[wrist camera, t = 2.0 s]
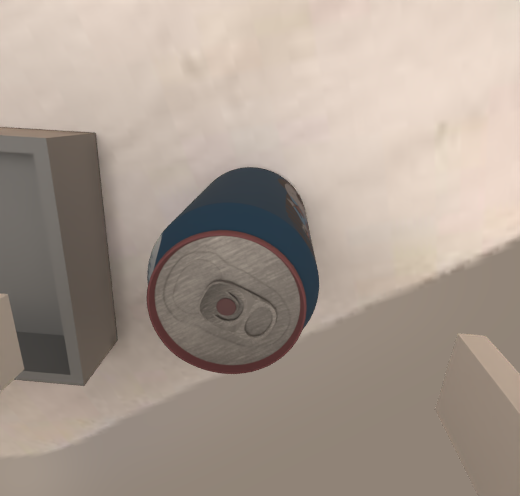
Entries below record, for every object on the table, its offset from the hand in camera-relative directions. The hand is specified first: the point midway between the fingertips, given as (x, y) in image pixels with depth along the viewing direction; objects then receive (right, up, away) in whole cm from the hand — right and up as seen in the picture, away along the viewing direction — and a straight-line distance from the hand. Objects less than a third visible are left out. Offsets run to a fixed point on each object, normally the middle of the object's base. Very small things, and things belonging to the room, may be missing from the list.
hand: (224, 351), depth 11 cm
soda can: (+1, +5, +13) cm, 14 cm away
